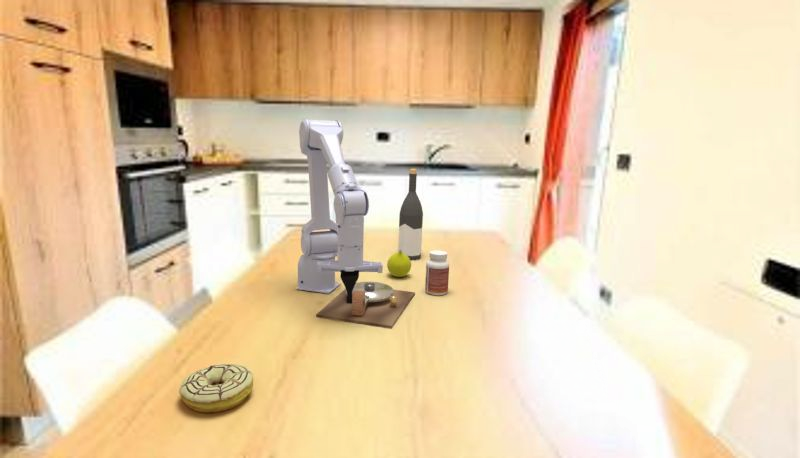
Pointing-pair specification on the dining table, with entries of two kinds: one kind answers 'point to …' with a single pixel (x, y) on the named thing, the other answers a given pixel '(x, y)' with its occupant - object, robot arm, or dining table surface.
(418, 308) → the dining table surface
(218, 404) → the decorated donut
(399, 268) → the yellow round fruit
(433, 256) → the pill bottle
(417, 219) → the wine bottle
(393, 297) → the dowel
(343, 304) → the board
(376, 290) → the metal lid
